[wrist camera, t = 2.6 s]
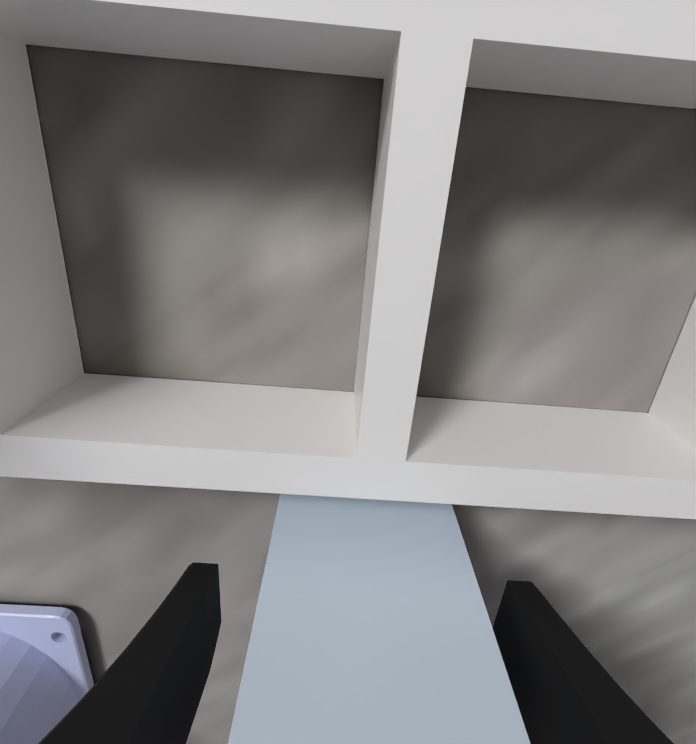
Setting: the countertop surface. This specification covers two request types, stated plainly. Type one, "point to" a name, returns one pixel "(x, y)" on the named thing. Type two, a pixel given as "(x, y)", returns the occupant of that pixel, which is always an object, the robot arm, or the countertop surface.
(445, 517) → the plug
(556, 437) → the white divided frame
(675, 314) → the countertop surface
